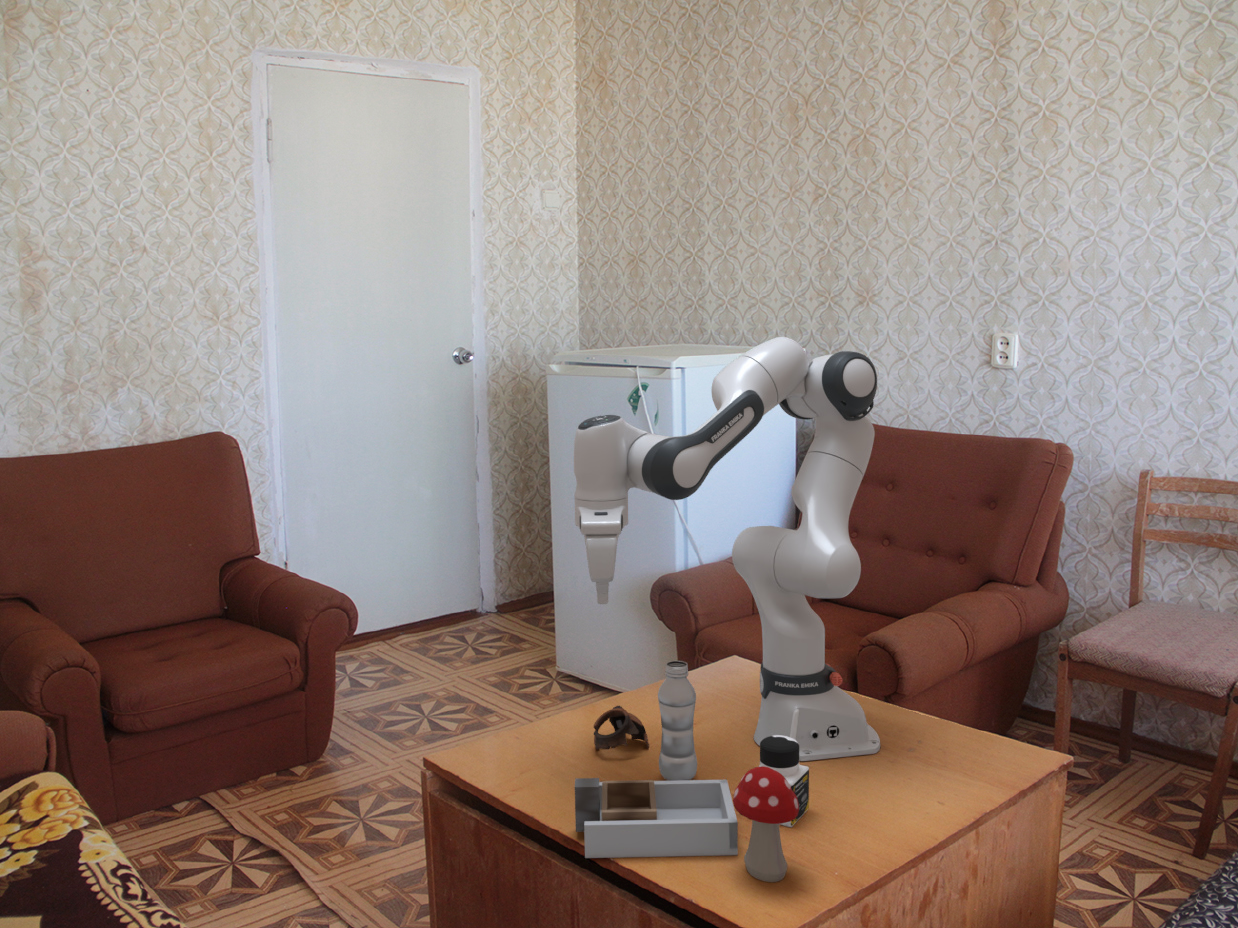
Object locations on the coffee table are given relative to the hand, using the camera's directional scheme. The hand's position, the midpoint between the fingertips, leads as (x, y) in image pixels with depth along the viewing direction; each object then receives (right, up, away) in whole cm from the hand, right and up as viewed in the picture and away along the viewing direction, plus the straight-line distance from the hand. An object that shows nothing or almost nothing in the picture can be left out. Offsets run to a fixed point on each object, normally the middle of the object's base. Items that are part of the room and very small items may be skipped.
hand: (603, 595), depth 173 cm
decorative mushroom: (+23, -35, -28) cm, 51 cm away
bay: (+9, -34, -17) cm, 39 cm away
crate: (+2, -33, -17) cm, 37 cm away
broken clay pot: (+3, -30, +15) cm, 33 cm away
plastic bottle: (+13, -31, +1) cm, 34 cm away
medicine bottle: (+28, -33, -11) cm, 44 cm away
